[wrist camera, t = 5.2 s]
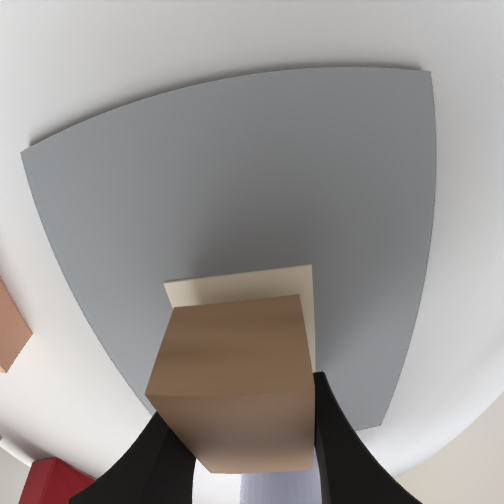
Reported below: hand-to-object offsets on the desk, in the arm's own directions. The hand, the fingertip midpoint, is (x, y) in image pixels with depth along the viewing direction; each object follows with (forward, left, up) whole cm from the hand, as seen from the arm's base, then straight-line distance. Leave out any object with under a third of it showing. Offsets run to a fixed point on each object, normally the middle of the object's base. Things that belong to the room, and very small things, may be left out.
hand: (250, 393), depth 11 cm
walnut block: (0, 0, -2) cm, 2 cm away
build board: (0, 0, -3) cm, 3 cm away
